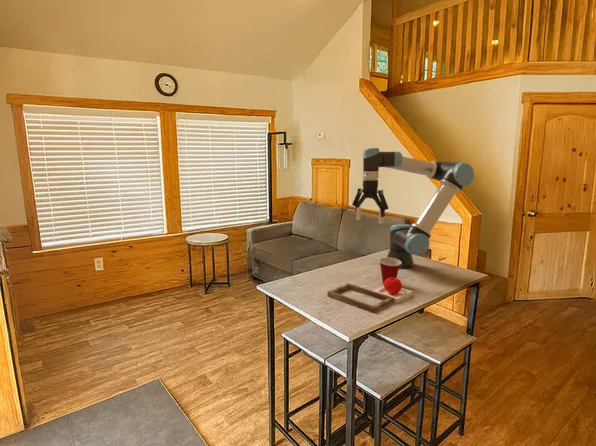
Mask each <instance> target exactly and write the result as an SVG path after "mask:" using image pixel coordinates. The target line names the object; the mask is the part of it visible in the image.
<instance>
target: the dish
mask: <svg viewBox="0 0 596 446" xmlns="http://www.w3.org/2000/svg"><path fill="white" fill-rule="evenodd" d="M373 291H374V292H378V293H381V294H384V295H386V296H390V297H394V302H393V303H395V304H399V303H401V302H402V301H404V300H406V299H408V298H409V297H412V296H413V290H410V289H405V288H404V287H402V288H401V290H400V291H399V293H397V294H390V293H389V292H388V291H387V290H386V289H385V288H384V285H382V286H381V287H379V288H377V289H375V290H373Z"/></svg>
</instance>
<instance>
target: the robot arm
mask: <svg viewBox="0 0 596 446" xmlns="http://www.w3.org/2000/svg"><path fill="white" fill-rule="evenodd" d="M362 158H363V160H362V169H363V170H362V178H363V180H362V187H361V188H360V187H359V188H357V193H356V195H355V196H354V200H353V201H352V204H351V205H352V206H353V207H354V208H355V211H354V212H355V216H356V218H355V220H356V221H359V220H361V215H362V214H361V213H362V206H361V205H362V204H363V203H364V201H365V200H367V199H370V200H371V199H372V200H373V201H374V202H375V204H376V205H377V208H379V210H378V224H379V225H380V224H384V217H385V212H386V210H389V206H388V202H387V200H386V197H385V195H384V190H383V189H380V190H378V187H379V180H378V179H379V171H380V170H379V168H388V169H391V170H398V171H402V172H407V173H412V174H417V175H422V176H426V178H428V179H432V180H434V181H437V182H440V185H439V187H438V188H437V190H436V191H435V193H433V196H432V198H431V199H430V201H428V203H427V205H426V207H425V208H424V210H423V211H422V213H421V214H420V216H419V217H418V219H417V220H416V222H415V223H411V224H406V223H405V224H403V223H402V224H393V225H391V226H390V230H389V251H388V254H387V256H386V257H390V258H395V259H398V260H400V261H401V262H402V263H401V265H400V267H399V269H409V268H412V267H413V266H414V257H413V256H414V255H415V256H419V255H420V256H421V255H422V254H424V253H426V252H427V250H428V249H429V247H430V244H431V243H430V238H431V236H432V234H431V231H432V230H433V228H434V227H435V225H436V224H437V222H438V221H439V219H440V217H441V216H442V214H443V213H444V211H445V210H446V209H447V207H448V205H449V204H450V203H451V201H452V199H453V198H454V197H455V195H456V194H457V193H461V191H462V189H464V187H468V186H469V185H471V184H472V182H474V178H475V172H474V168H473V167H472V165H470V164H469V163H467V162H463V161H459V162H457V161H456V162H455V161H435V160H431V161H427V160H422V159H417V158H413V157H412V158H411V157H407V156H403V154H402V153H401V152H400V151H380V148H379V147H366V148H364V149H363V154H362Z"/></svg>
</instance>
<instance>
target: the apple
mask: <svg viewBox="0 0 596 446" xmlns="http://www.w3.org/2000/svg"><path fill="white" fill-rule="evenodd" d="M402 285H403V283H402V281H401V280H400V279H399V278H398V277H397V278H394V277H390V278H388V279H386V280H385V281H384V284H383V286H384V288H385V289H386V290H387V291H388V292H389V293H390V294H397V293H399V291H400V290H401V288H403V287H402Z"/></svg>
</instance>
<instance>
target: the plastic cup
mask: <svg viewBox="0 0 596 446" xmlns="http://www.w3.org/2000/svg"><path fill="white" fill-rule="evenodd" d="M378 262H379V267H380V274H381V279H382V281H381V282H382V284H383V285H384V281H385V280H386V279H388V278H390V277H394V278H397V279H398V273H399V270H400V268H399V267H400V265H401V263H402V262H401V261H400V260H398V259H395V258H390V257H387V256H386V257H385V256H384V257H380V258H379V259H378Z"/></svg>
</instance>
